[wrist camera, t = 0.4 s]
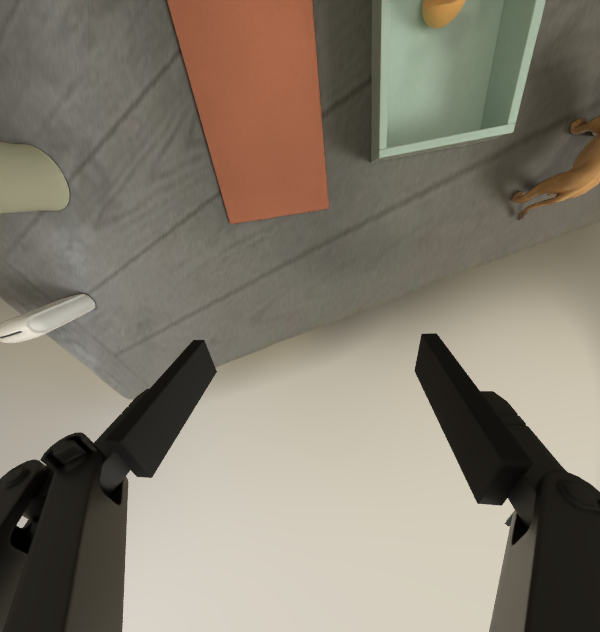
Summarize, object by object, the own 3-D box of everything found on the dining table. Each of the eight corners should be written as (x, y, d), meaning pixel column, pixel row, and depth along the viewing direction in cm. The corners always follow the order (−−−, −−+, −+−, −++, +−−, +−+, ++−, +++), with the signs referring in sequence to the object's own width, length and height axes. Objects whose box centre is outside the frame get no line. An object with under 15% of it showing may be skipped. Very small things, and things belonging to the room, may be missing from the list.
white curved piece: (67, 317, 50) (-3, 351, 40) (53, 300, 48) (-25, 331, 38) (100, 308, 48) (35, 341, 37) (86, 290, 46) (13, 320, 35)
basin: (372, -144, 19) (385, -248, 15) (554, -221, 17) (637, -373, 12) (371, 163, 30) (379, 158, 25) (483, 141, 28) (513, 132, 23)
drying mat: (167, -4, 25) (165, -7, 24) (307, -56, 22) (307, -60, 22) (231, 223, 36) (230, 224, 36) (328, 208, 33) (328, 208, 33)
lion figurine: (594, 71, 24) (722, 13, 16) (639, 86, 24) (787, 36, 16) (499, 214, 31) (555, 222, 24) (533, 225, 31) (601, 236, 24)
